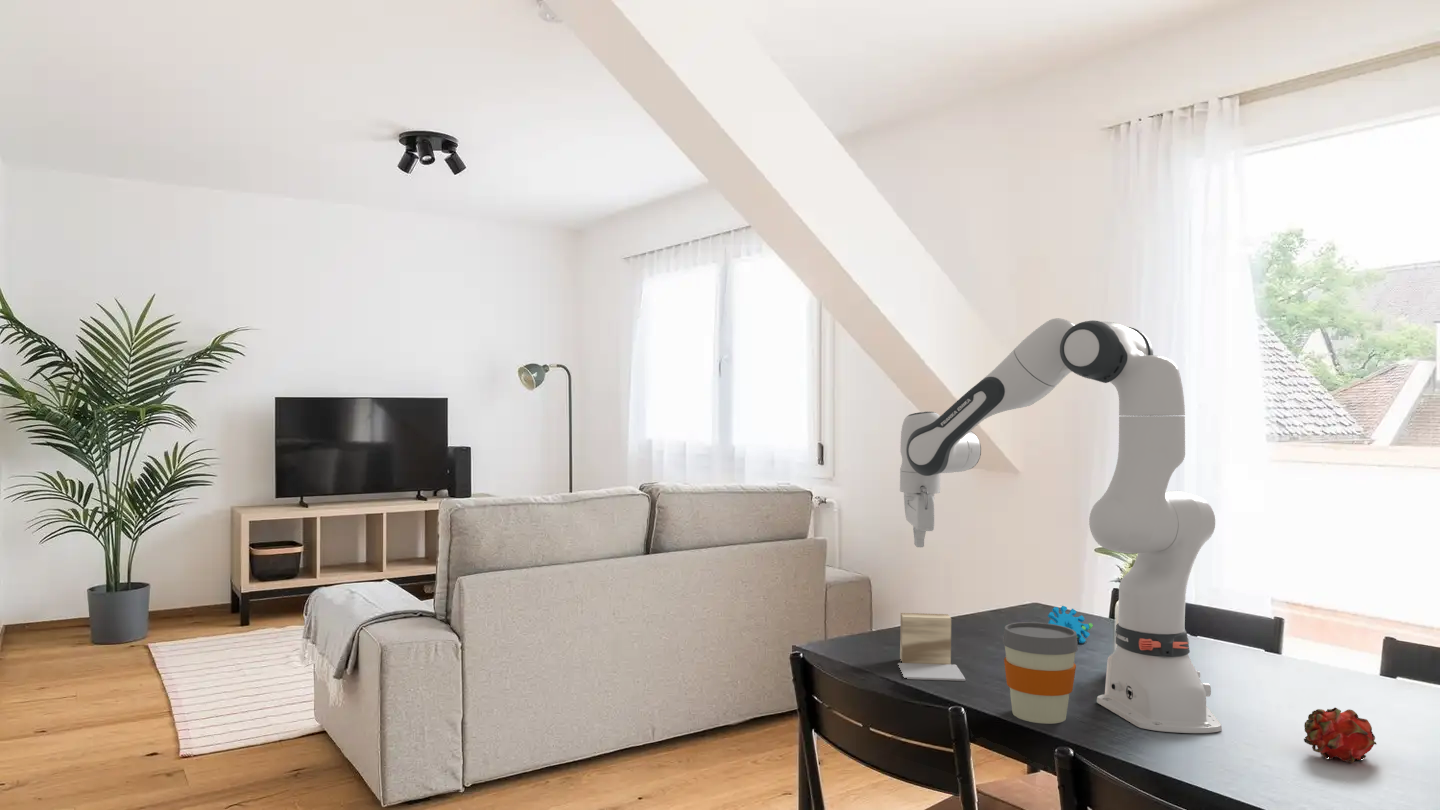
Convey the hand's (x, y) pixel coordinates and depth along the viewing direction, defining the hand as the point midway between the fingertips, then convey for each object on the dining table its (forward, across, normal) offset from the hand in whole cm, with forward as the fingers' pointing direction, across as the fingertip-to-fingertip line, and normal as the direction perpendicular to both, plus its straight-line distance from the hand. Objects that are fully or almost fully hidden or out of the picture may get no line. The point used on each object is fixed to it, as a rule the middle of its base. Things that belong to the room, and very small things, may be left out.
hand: (919, 546), depth 213 cm
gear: (+23, +12, -37) cm, 45 cm away
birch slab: (+23, -11, 0) cm, 25 cm away
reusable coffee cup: (+23, -44, -15) cm, 52 cm away
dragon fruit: (+23, -60, -57) cm, 86 cm away
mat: (+23, -19, 0) cm, 30 cm away
